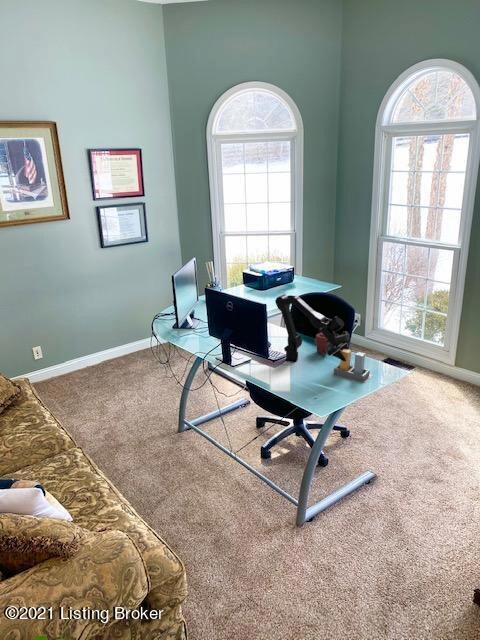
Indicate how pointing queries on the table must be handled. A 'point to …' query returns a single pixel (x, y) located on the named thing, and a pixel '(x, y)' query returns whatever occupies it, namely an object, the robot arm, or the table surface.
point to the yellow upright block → (346, 364)
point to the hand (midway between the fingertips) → (348, 358)
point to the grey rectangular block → (359, 363)
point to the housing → (352, 374)
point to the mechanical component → (321, 343)
